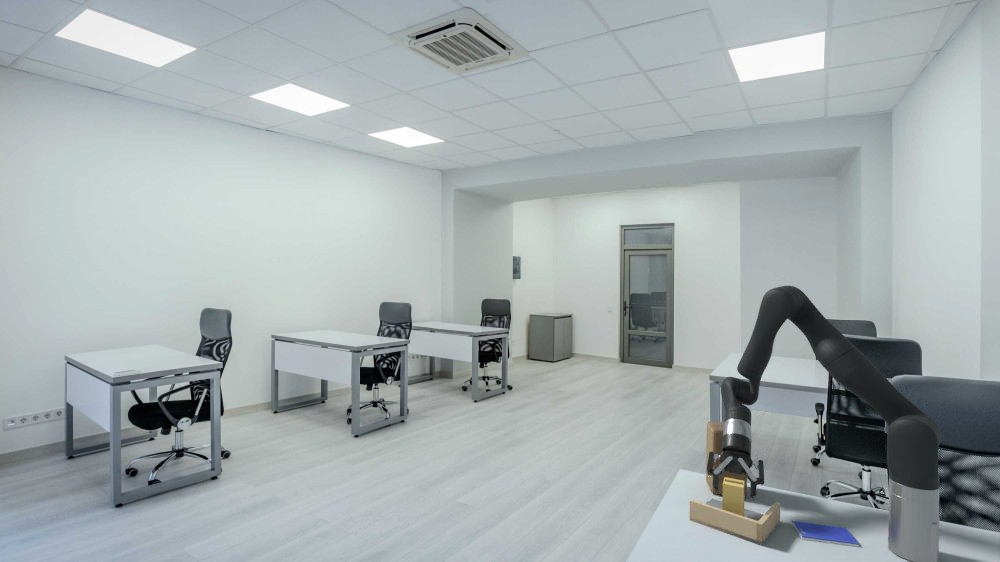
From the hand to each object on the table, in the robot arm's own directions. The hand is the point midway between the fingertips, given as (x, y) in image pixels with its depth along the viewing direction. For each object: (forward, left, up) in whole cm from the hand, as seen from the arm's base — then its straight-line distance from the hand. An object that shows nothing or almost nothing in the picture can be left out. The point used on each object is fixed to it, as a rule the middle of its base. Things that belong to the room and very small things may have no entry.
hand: (733, 493), depth 132 cm
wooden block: (+9, -20, -8) cm, 23 cm away
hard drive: (-19, -10, -9) cm, 23 cm away
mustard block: (0, 0, -7) cm, 7 cm away
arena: (0, -1, -8) cm, 8 cm away
